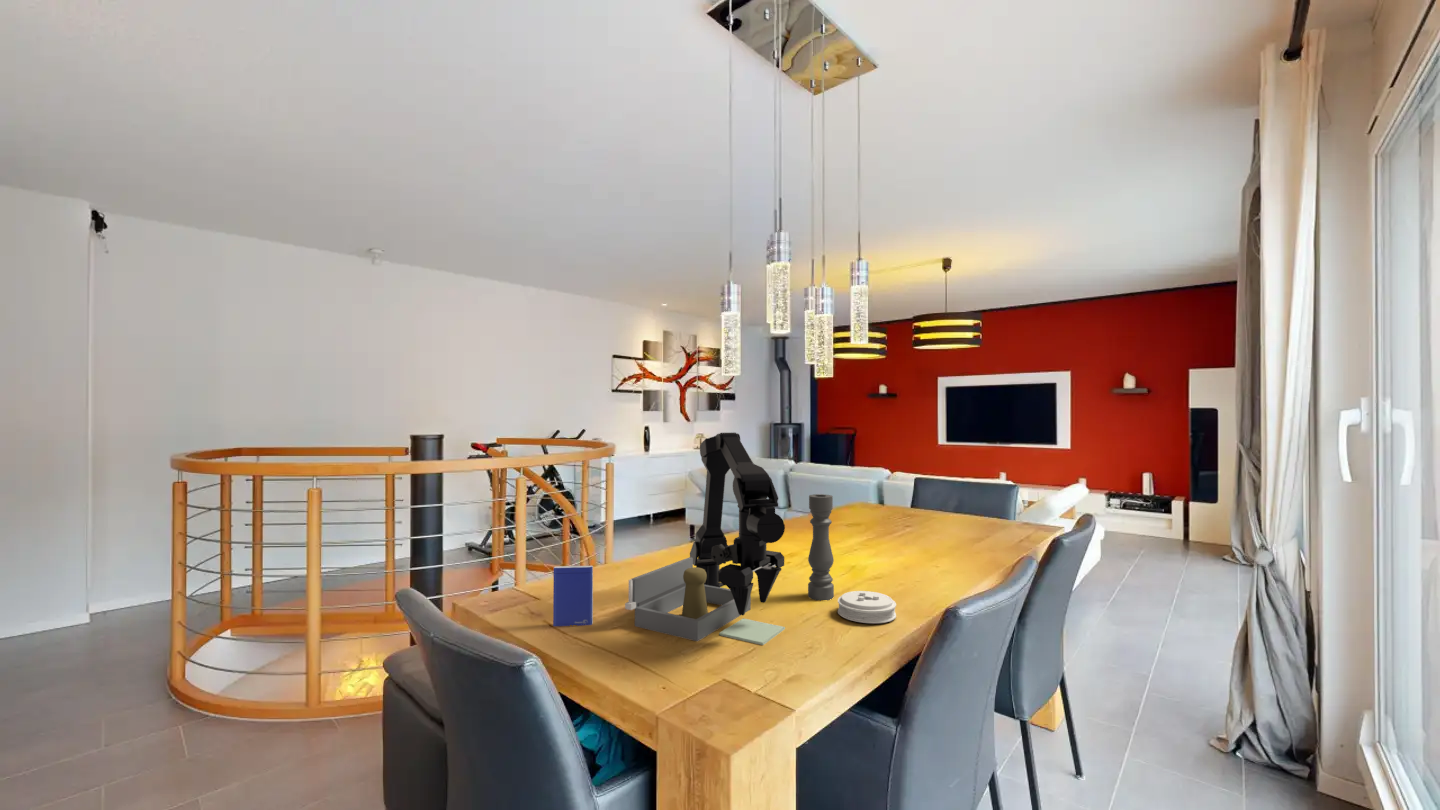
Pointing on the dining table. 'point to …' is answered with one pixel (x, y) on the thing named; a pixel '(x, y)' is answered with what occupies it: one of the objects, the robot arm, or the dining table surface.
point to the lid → (866, 607)
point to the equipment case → (677, 603)
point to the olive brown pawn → (694, 593)
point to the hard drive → (573, 595)
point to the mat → (752, 631)
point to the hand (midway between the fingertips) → (752, 608)
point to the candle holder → (820, 548)
